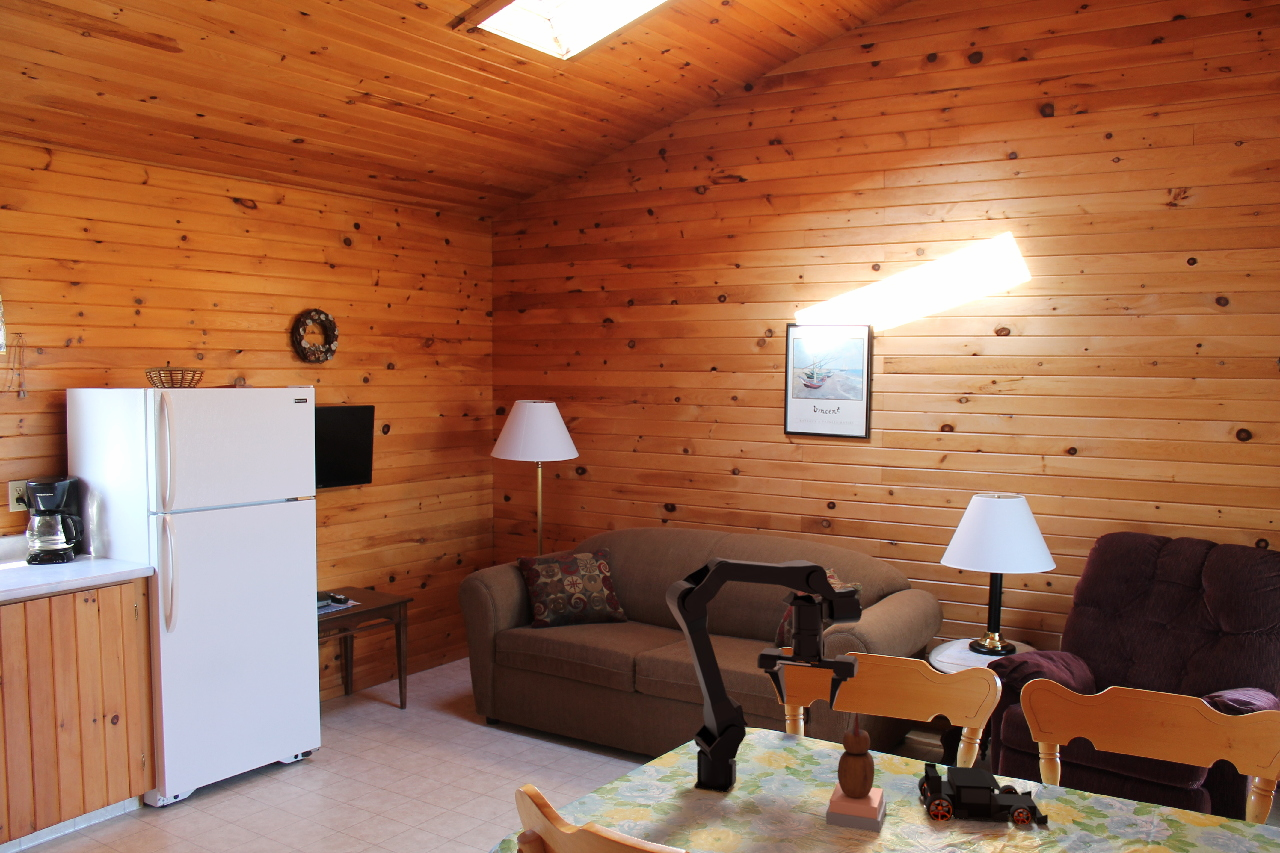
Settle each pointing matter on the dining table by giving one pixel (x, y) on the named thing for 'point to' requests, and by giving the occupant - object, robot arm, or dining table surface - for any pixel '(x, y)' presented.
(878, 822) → the brick plinth
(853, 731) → the wooden figurine
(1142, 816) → the dining table surface
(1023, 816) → the black toy car
